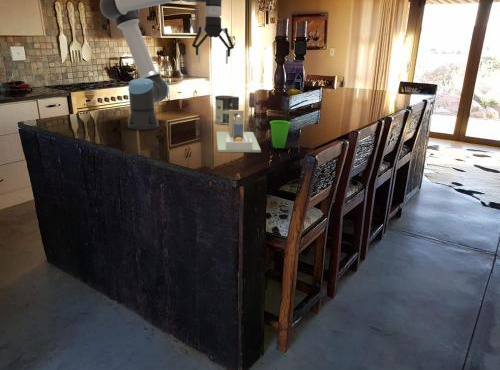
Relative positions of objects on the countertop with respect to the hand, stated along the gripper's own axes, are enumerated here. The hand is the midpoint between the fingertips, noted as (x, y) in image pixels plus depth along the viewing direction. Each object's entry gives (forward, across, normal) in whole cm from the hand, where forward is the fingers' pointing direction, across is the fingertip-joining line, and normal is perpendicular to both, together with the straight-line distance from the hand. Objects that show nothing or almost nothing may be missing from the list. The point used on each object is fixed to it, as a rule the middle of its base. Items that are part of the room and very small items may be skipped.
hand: (212, 63), depth 195 cm
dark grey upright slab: (+30, +11, -26) cm, 41 cm away
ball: (+29, +12, -40) cm, 51 cm away
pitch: (+32, +11, -30) cm, 45 cm away
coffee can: (+32, +7, +12) cm, 35 cm away
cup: (+32, +30, -38) cm, 58 cm away
